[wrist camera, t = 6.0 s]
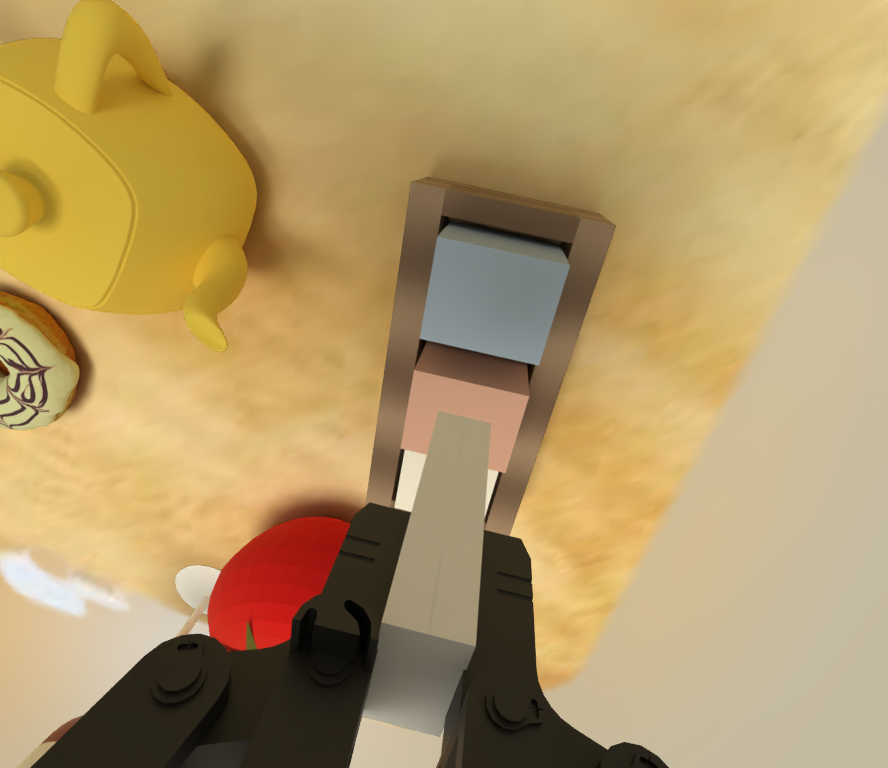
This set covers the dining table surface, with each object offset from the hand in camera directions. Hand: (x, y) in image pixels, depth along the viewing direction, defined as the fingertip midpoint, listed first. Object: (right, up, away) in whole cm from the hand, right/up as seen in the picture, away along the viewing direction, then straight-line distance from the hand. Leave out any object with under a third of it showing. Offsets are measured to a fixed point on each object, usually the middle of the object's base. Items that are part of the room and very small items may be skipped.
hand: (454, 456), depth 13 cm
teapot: (-17, +16, +15) cm, 28 cm away
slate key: (+2, +8, +12) cm, 15 cm away
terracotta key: (+1, +2, +15) cm, 15 cm away
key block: (+2, +4, +18) cm, 19 cm away
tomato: (-11, -12, +28) cm, 33 cm away
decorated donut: (-33, +5, +23) cm, 40 cm away
